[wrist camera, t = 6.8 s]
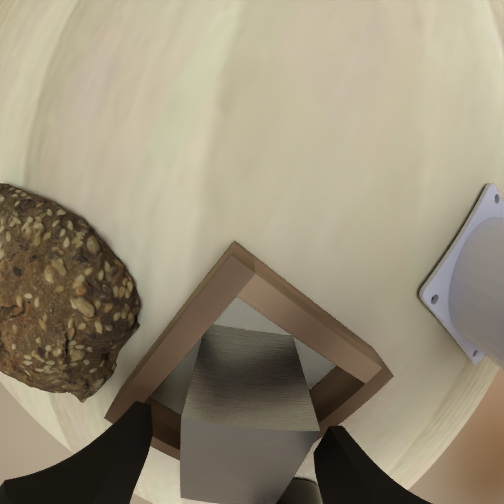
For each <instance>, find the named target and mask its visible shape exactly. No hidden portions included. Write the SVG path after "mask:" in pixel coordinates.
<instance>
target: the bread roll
mask: <svg viewBox="0 0 504 504" xmlns="http://www.w3.org/2000/svg"><path fill="white" fill-rule="evenodd" d="M138 311H139V300H138V296H137V292H136V288H135V285H134V284H133V281H132V279H131V277H130V276H129V275H128V273H127V272H126V269H125V267H124V265H122V264H121V263H120V262H119V261H118V260H117V258H116V257H115V256H114V255H113V254H112V253H111V252H110V250H109V249H108V248H107V247H106V246H105V245H104V243H103V242H102V241H101V240H100V239H99V238H97V237H96V236H95V235H94V234H92V232H91V229H90V228H89V227H88V226H87V225H86V223H85V222H84V220H82V219H81V218H79V217H78V216H76V215H73V214H71V213H70V212H69V211H68V210H64V209H62V208H61V207H59V206H58V205H57V204H55V203H54V202H53V201H50V200H47V199H45V198H42V197H40V196H37V195H35V194H28V193H27V192H25V191H22V190H20V189H17V188H16V187H15V186H14V187H12V186H11V185H9V184H2V183H0V371H1V372H2V373H4V374H6V375H8V376H10V377H13V378H15V379H17V380H18V381H20V382H23V383H25V384H26V385H28V386H29V387H35V388H38V389H40V390H44V391H48V392H52V393H66V392H68V393H69V392H70V393H71V394H72V395H75V396H76V397H77V398H78V399H79V400H80V402H83V403H84V402H85V400H86V399H87V398H88V397H90V396H92V395H94V394H95V393H96V392H97V390H99V389H100V388H101V387H102V386H103V385H104V383H105V381H106V380H107V379H108V378H109V377H110V376H111V375H112V374H113V371H114V369H115V368H116V366H117V364H116V362H115V360H116V358H117V354H118V352H119V350H120V349H121V347H122V346H124V344H125V343H126V341H127V340H128V339H129V338H130V337H131V336H132V335H133V334H134V333H135V331H136V330H137V328H138V327H139V326H140V325H139V323H138V322H137V314H136V312H138Z"/></svg>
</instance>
